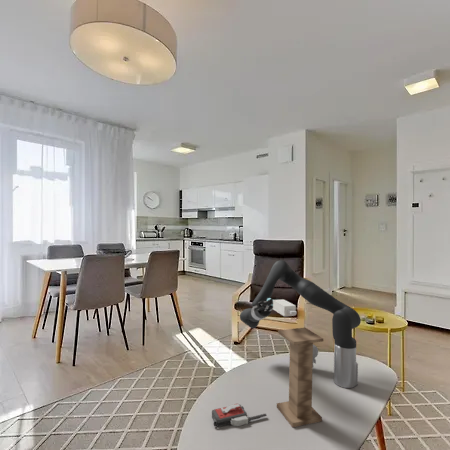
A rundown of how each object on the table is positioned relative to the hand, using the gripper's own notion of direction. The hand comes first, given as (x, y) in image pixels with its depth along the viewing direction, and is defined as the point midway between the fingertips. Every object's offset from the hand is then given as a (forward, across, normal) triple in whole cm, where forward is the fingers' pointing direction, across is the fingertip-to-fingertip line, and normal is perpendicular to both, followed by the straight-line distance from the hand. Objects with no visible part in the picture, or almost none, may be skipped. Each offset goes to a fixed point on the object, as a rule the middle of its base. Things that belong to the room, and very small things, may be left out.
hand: (275, 300), depth 132 cm
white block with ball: (+2, 0, +5) cm, 5 cm away
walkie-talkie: (-5, -23, +41) cm, 47 cm away
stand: (-1, 0, +43) cm, 43 cm away
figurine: (-27, +24, +28) cm, 46 cm away
